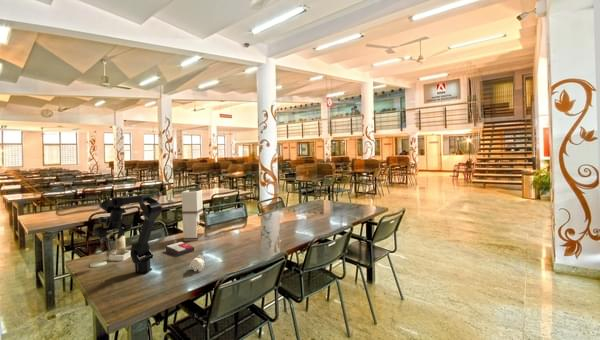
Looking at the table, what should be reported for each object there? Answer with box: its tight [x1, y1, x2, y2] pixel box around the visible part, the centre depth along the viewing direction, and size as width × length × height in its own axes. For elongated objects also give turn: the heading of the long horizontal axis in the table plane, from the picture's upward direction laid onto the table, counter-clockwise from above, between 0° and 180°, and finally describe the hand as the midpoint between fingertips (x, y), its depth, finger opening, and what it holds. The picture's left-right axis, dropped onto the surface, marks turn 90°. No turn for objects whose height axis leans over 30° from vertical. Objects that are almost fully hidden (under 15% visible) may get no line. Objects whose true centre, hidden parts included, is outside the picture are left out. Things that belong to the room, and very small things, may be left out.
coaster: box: [89, 260, 108, 268], centre depth 169 cm, size 8×8×1 cm
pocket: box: [108, 249, 131, 262], centre depth 179 cm, size 9×9×3 cm
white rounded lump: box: [187, 254, 206, 273], centre depth 159 cm, size 8×10×7 cm
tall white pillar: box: [181, 189, 205, 242], centre depth 216 cm, size 11×11×35 cm
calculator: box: [165, 241, 195, 257], centre depth 189 cm, size 11×4×15 cm
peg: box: [114, 235, 127, 255], centre depth 179 cm, size 5×5×13 cm
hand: (110, 241), depth 167 cm, fingers open, 9 cm apart
